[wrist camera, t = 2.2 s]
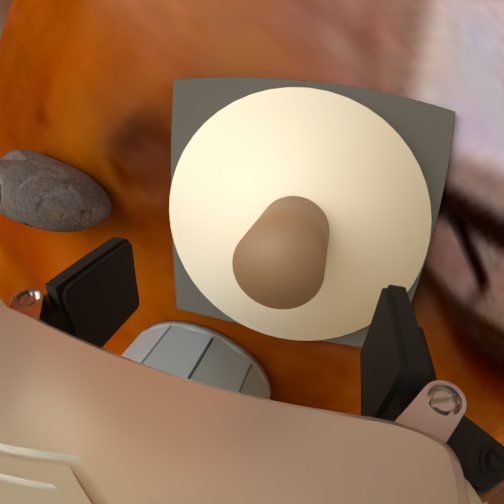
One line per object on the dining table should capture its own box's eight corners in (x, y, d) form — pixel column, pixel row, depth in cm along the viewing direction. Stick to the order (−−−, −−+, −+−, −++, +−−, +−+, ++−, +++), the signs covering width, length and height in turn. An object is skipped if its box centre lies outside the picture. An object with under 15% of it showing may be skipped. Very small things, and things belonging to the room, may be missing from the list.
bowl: (280, 343, 23) (257, 413, 17) (263, 432, 29) (245, 485, 23) (128, 303, 26) (81, 349, 20) (150, 396, 32) (121, 438, 26)
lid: (446, 117, 13) (496, 118, 8) (387, 345, 20) (392, 411, 15) (180, 86, 17) (117, 79, 11) (182, 304, 24) (141, 354, 18)
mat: (452, 111, 13) (455, 111, 13) (390, 347, 21) (391, 351, 20) (177, 80, 17) (173, 79, 17) (179, 304, 24) (176, 308, 24)
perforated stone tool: (133, 175, 21) (65, 202, 15) (125, 236, 23) (66, 276, 17) (26, 137, 22) (-29, 152, 16) (24, 185, 25) (-27, 206, 19)
